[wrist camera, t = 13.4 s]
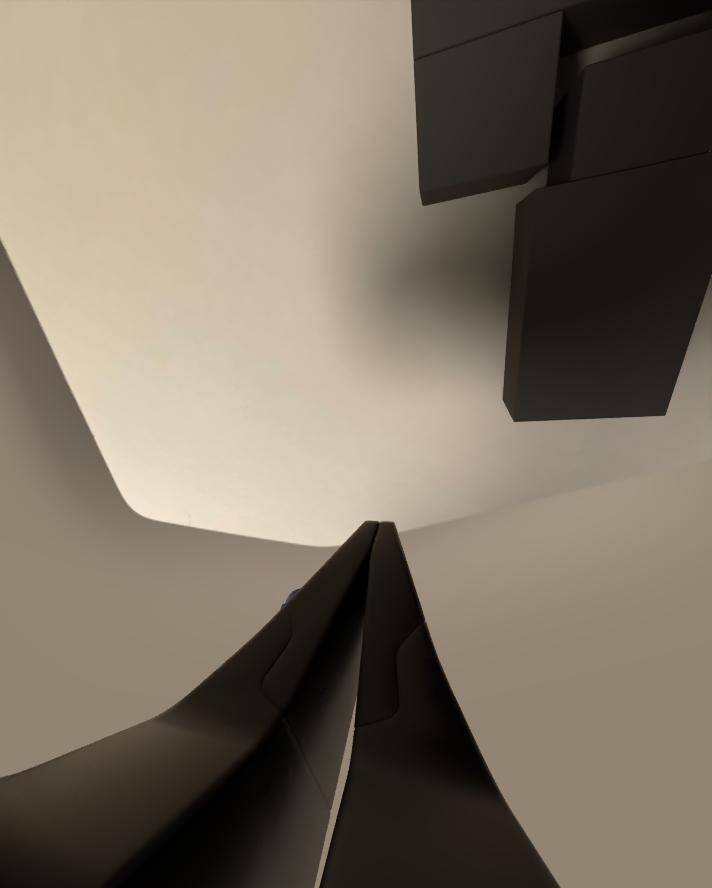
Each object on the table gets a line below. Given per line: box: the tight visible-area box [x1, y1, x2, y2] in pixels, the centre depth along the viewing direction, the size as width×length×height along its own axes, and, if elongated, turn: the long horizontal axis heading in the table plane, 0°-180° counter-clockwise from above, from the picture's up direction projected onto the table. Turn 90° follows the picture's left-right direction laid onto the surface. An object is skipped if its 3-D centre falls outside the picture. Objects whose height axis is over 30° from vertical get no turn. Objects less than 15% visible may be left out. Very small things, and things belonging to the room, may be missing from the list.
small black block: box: [503, 29, 712, 422], centre depth 13 cm, size 6×12×3 cm, turn 9°
